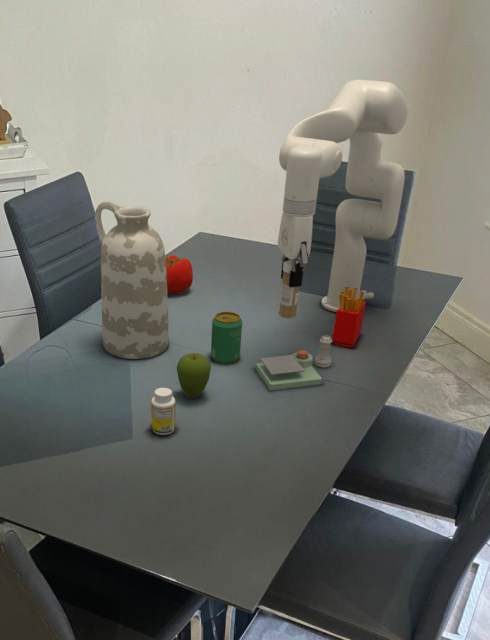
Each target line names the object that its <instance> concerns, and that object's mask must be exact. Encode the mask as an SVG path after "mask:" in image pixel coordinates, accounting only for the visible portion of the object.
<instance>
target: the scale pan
mask: <svg viewBox="0 0 490 640" xmlns="http://www.w3.org/2000/svg"><path fill="white" fill-rule="evenodd" d="M259 361H260V363H263V364H264V366H265V367H266V368H267V370H268V371H269V373H270V374H271V375H279V374H288V373H296V372H305V370H304V369H303V368H302V366H301V365H300V364H299V363H298V361H297V360H296V359H295V358H294V356H293V355H292V354H286V355H277V356H269V357H260V358H259Z"/></svg>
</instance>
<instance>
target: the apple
mask: <svg viewBox="0 0 490 640" xmlns="http://www.w3.org/2000/svg"><path fill="white" fill-rule="evenodd" d="M211 365H212V364H211V363H210V360H209V359H208V358H207V357H206V356H205V355H204V354H202V353H199V352H191V353H187V354H184V355H183V356H181V357H180V358H179V360H178V362H177V365H176V372H177V379H178V381H179V385H180V389H181V390H182V392H183V393H184V395H186V397H187V398H189V399H195V398H197V397H199V396H200V395H201V394H202V393H203V392H204V391H205V389H206V387H207V385H208V382H209V380H210V375H211V370H212V366H211Z"/></svg>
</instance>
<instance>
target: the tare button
mask: <svg viewBox="0 0 490 640" xmlns="http://www.w3.org/2000/svg"><path fill="white" fill-rule="evenodd" d="M297 352H298V355H297V358H298V359H302V360H304V359H307V355H308V354H309V352H308V351H307V350H305V349H299V350H298V351H297Z"/></svg>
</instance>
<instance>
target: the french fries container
mask: <svg viewBox="0 0 490 640" xmlns="http://www.w3.org/2000/svg"><path fill="white" fill-rule="evenodd" d="M360 291H361V292H360V298H359V297H358V298H356V300H355V297H356V292H357V288H354V291H353V290H352V289H350V290H349V287H348V286H347V287H345V295H344V291H341V294H340V295H339V298H340V308H339V310H337V312H335V318H334V325H333V332H332V337H331V339H332V342H331V343H332V344H334V346H335V345H336V346H339V347H340V346H342V347H346V348H351V349H352V348H354V347H355V345H356V343H358V342H357V341H358V340H359V338H360V336H361V333H362V327H363V323H364V321H363V320H364V316H365V310H366V306H367V305H366V304H367V301H365V299H364V298H363V293H364V291H365V290H360ZM352 292H353V296H352ZM351 298H352V300H351Z"/></svg>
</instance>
